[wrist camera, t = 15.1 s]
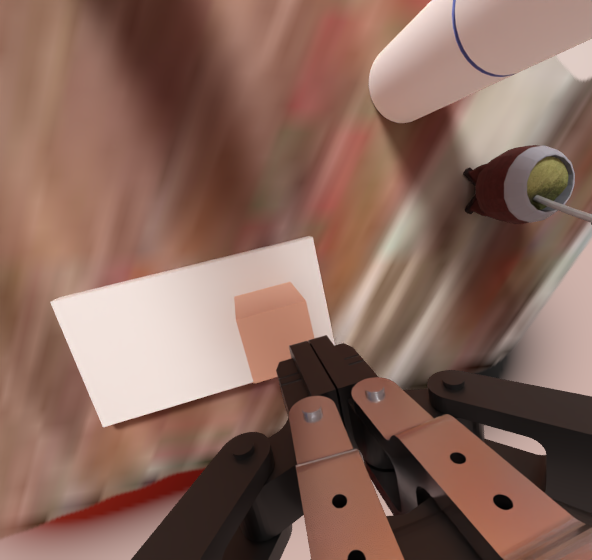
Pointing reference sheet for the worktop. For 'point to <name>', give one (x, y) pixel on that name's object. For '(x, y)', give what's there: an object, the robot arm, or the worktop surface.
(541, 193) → the mate gourd
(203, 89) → the worktop surface
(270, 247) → the white board
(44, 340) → the worktop surface
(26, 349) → the worktop surface
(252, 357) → the salmon pink cube
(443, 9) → the cylindrical container
